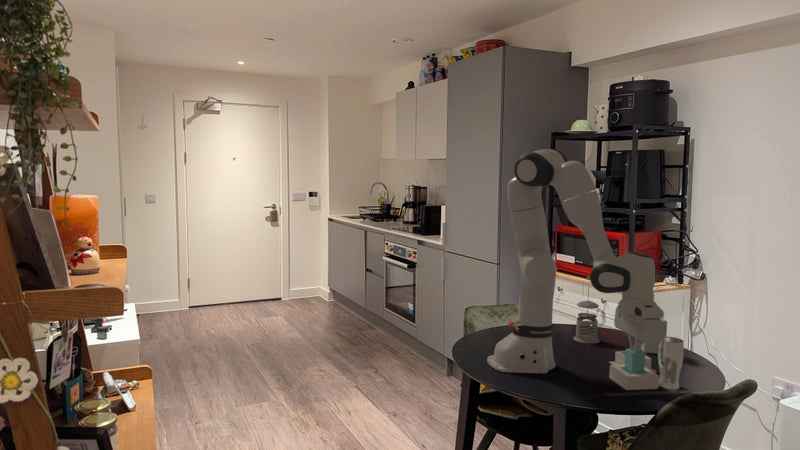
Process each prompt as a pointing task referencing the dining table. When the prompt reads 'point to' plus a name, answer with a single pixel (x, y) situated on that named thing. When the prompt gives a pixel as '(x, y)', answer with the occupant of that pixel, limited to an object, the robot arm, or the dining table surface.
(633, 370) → the plug
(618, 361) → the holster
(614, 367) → the port block
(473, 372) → the dining table surface
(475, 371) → the dining table surface
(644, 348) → the supplement box
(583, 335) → the french press
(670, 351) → the beer glass
